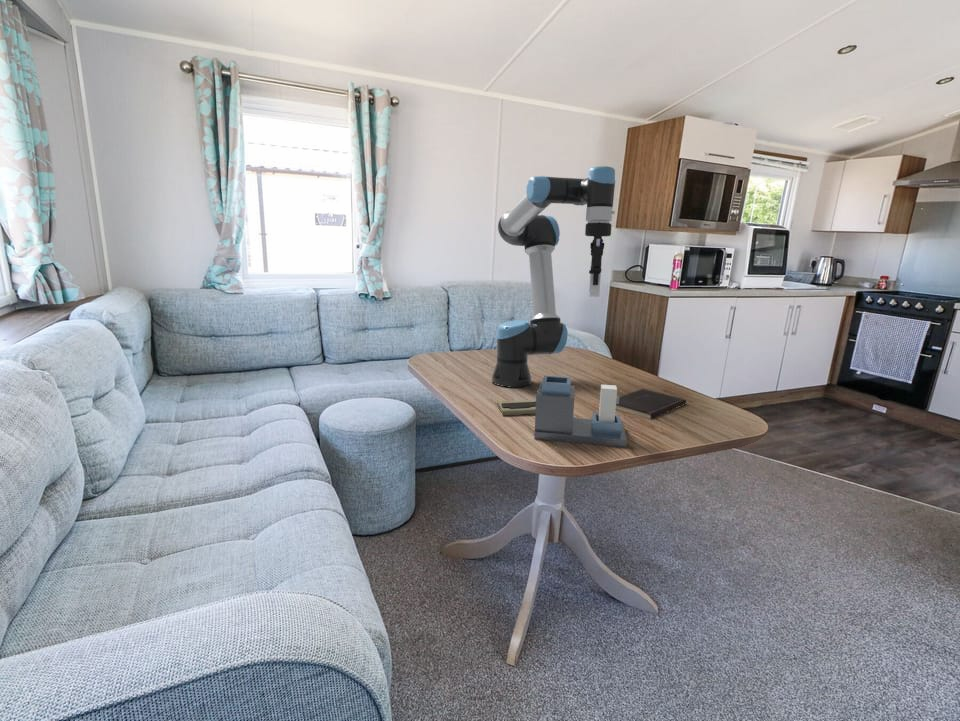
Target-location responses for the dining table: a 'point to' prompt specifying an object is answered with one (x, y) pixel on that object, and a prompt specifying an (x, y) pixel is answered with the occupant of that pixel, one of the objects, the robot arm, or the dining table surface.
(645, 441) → the dining table surface
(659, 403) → the hardcover book
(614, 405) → the plug
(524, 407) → the olive rectangular tray
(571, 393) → the stepped holder stand
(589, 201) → the robot arm
